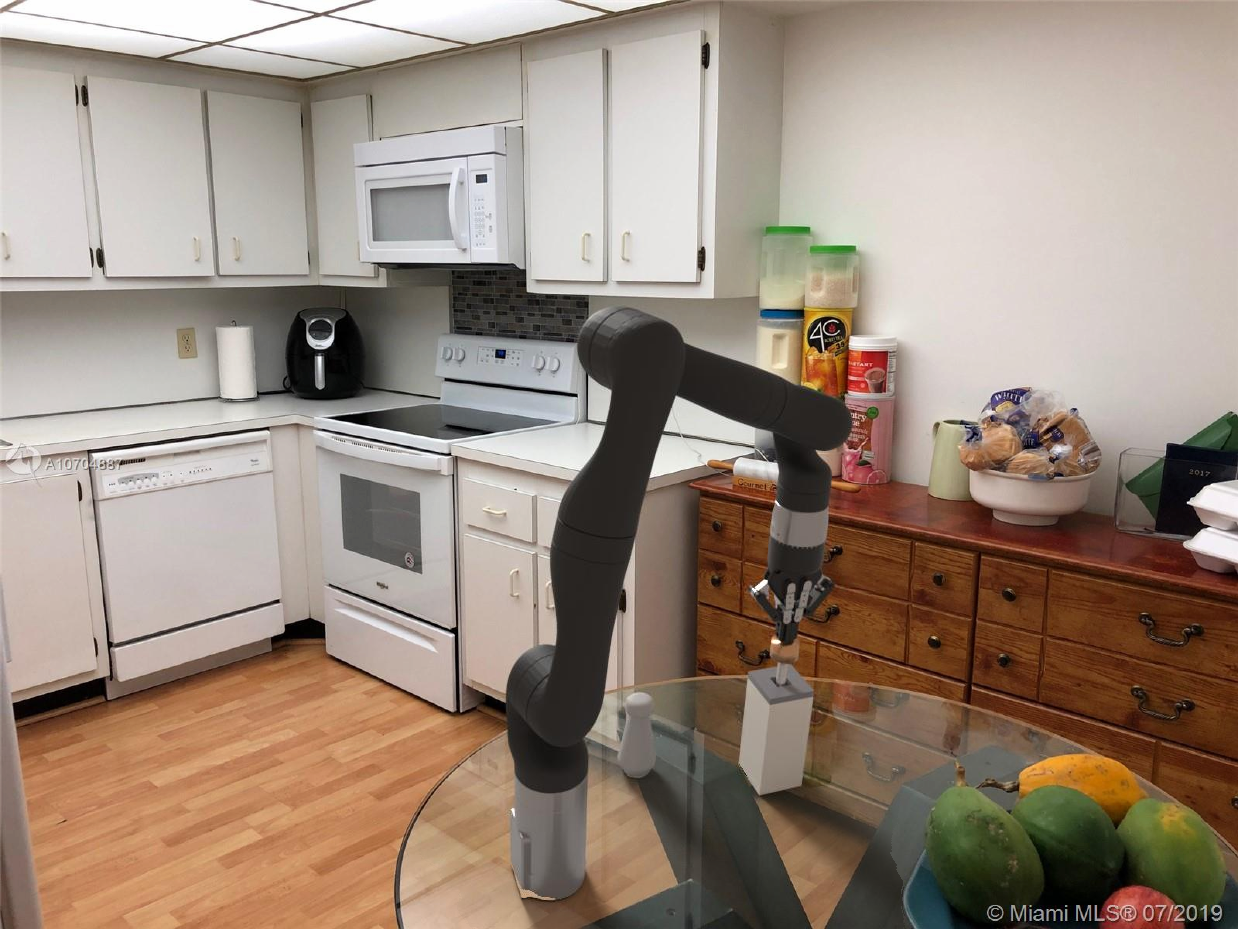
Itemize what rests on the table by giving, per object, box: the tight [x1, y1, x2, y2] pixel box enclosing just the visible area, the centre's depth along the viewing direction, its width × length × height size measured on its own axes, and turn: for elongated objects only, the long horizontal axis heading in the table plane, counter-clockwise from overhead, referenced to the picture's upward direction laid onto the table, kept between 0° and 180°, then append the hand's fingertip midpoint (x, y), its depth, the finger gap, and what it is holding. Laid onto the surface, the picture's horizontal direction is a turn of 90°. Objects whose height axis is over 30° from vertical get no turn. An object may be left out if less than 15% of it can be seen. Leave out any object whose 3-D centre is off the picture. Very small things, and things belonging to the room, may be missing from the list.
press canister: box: [738, 663, 815, 796], centre depth 144 cm, size 7×7×17 cm
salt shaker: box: [617, 692, 657, 777], centre depth 145 cm, size 6×6×13 cm
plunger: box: [769, 635, 801, 687], centre depth 142 cm, size 4×4×17 cm
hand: (785, 641), depth 138 cm, fingers closed
